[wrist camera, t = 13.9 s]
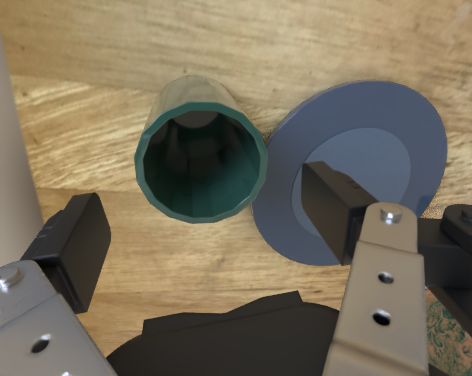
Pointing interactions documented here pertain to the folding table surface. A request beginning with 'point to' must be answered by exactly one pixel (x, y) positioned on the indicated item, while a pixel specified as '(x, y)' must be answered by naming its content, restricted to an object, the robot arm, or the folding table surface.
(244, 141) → the cup
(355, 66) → the folding table surface
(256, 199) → the plate
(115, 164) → the folding table surface
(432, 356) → the mug
